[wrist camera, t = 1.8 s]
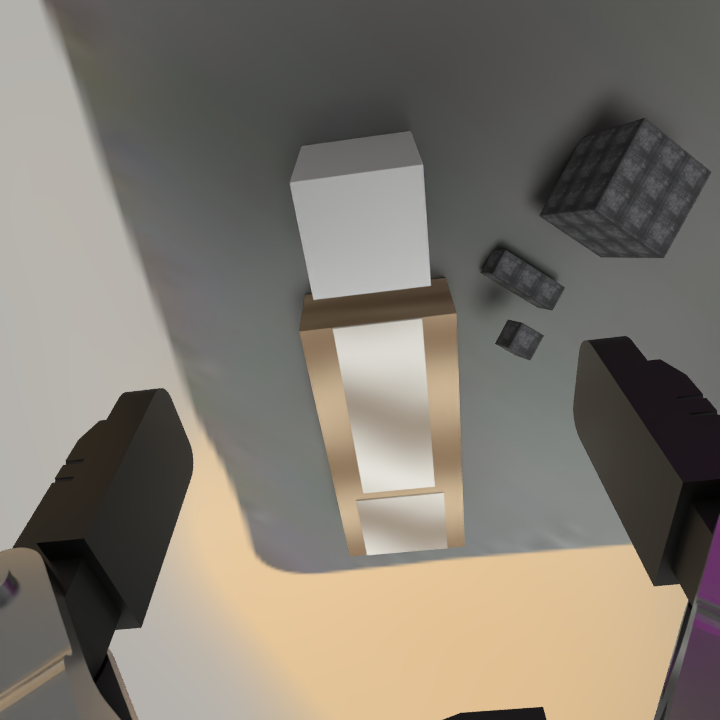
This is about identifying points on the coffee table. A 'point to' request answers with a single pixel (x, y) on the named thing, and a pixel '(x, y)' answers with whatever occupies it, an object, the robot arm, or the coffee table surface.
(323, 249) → the grey block
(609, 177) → the building blocks
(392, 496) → the frame
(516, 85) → the coffee table surface
